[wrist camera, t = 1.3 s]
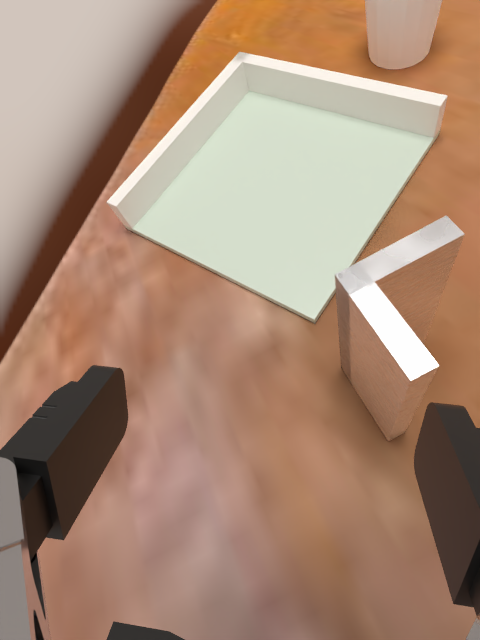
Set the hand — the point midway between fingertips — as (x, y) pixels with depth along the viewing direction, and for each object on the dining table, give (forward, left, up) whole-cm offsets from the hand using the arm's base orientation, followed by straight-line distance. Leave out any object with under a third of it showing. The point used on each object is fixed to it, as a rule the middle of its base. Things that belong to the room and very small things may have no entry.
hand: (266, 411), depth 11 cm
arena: (-19, -16, -17) cm, 30 cm away
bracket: (-8, +1, -17) cm, 19 cm away
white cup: (-38, -14, -17) cm, 44 cm away
